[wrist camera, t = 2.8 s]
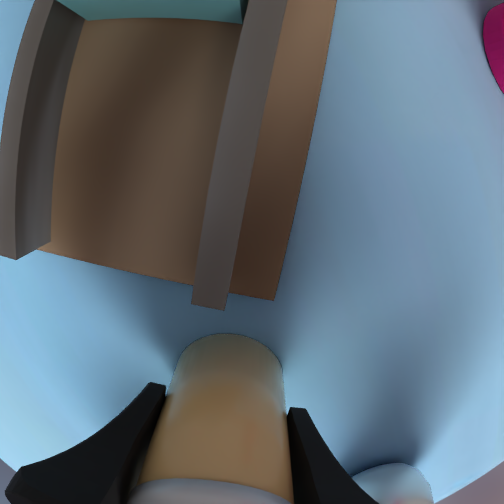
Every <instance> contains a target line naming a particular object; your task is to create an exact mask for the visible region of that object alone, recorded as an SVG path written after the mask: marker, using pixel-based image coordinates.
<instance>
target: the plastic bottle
mask: <svg viewBox="0 0 504 504" xmlns="http://www.w3.org/2000/svg"><path fill="white" fill-rule="evenodd" d="M351 478H352V479H353V480H354V481H355V482H356V483H357V484H358V485H359V486H360V487H361V488H362V489H363V490H364V491H365V492H366V493H367V494H368V495H370V496H371V497H372V498H373V499H374V500H375V501H377V502H378V503H379V504H434V501H433V497H432V492H431V488H430V485H429V483H428V482H427V480H426V479H425V477H424V476H423V474H422V473H421V472H420V471H419V470H418V469H416V468H414V467H412V466H410V465H408V464H404V463H390V464H384V465H380V466H376V467H373V468H370V469H368V470H365V471H363V472H361V473H359V474H356V475H355V476H353V477H351Z"/></svg>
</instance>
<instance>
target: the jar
mask: <svg viewBox="0 0 504 504" xmlns="http://www.w3.org/2000/svg"><path fill="white" fill-rule="evenodd" d="M127 504H294V495H293V483H292V471H291V459H290V447H289V436H288V425H287V414H286V403H285V393H284V382H283V372H282V368H281V365H280V362H279V360H278V359H277V357H276V356H275V355H274V353H273V352H272V351H271V350H270V349H268V348H267V347H266V346H265V345H263V344H262V343H260V342H258V341H256V340H254V339H252V338H249V337H246V336H242V335H237V334H214V335H209V336H206V337H203V338H200V339H198V340H196V341H195V342H193V343H191V344H190V345H189V346H188V347H187V348H186V349H185V350H184V351H183V352H182V354H181V356H180V357H179V360H178V363H177V366H176V368H175V371H174V374H173V377H172V380H171V383H170V386H169V388H168V391H167V394H166V397H165V400H164V403H163V406H162V409H161V412H160V414H159V417H158V420H157V423H156V426H155V429H154V432H153V435H152V438H151V441H150V444H149V447H148V450H147V453H146V456H145V459H144V462H143V466H142V469H141V472H140V475H139V478H138V481H137V484H136V487H135V488H133V489H132V491H131V492H130V495H129V498H128V501H127Z"/></svg>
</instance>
